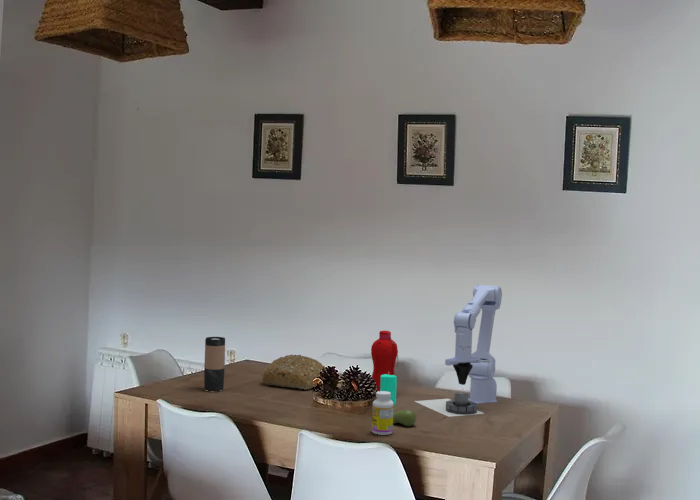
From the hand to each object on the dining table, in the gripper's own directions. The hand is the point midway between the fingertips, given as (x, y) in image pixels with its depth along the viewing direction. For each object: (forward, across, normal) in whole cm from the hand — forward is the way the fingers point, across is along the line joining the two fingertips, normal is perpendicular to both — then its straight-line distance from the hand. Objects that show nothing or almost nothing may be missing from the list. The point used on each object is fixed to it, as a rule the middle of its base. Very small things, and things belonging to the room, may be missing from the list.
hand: (462, 384), depth 282 cm
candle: (+10, +18, -20) cm, 29 cm away
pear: (+10, +30, +6) cm, 32 cm away
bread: (+10, +33, -63) cm, 72 cm away
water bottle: (+10, +12, -31) cm, 35 cm away
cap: (+8, 0, 0) cm, 9 cm away
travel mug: (+10, +67, -66) cm, 94 cm away
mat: (+10, +1, -6) cm, 12 cm away
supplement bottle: (+10, +42, +12) cm, 44 cm away
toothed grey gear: (+10, 0, 0) cm, 10 cm away
